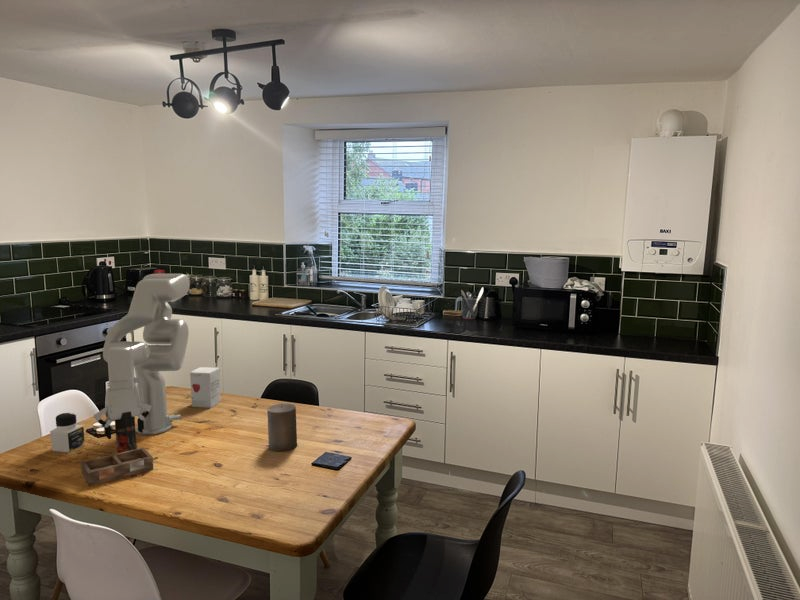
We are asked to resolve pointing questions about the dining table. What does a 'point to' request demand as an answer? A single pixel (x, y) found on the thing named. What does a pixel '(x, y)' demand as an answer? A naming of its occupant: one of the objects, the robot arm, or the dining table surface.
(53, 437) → the medicine bottle
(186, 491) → the dining table surface
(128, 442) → the deodorant
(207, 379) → the supplement box
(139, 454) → the divided compartment tray
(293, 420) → the pillar candle
